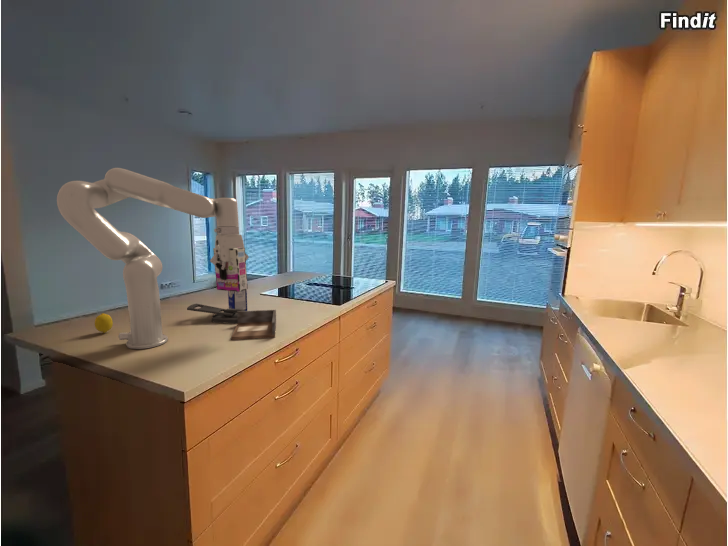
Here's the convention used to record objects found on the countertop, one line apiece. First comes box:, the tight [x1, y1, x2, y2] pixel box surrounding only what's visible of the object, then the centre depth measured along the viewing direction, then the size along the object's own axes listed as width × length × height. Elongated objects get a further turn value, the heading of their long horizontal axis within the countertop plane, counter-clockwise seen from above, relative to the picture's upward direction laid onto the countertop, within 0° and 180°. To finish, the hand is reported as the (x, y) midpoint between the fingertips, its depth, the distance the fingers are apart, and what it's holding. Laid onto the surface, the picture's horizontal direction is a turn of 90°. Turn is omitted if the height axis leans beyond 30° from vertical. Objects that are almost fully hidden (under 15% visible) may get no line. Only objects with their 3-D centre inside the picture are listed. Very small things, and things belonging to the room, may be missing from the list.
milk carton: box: [227, 289, 248, 311], centre depth 160 cm, size 7×7×20 cm
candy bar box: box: [213, 247, 248, 292], centre depth 125 cm, size 11×5×16 cm, turn 71°
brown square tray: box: [230, 309, 277, 341], centre depth 133 cm, size 16×18×6 cm
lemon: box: [94, 313, 114, 334], centre depth 127 cm, size 6×6×8 cm
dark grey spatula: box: [186, 303, 245, 325], centre depth 146 cm, size 9×7×25 cm
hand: (231, 277), depth 125 cm, fingers closed on candy bar box, 6 cm apart
